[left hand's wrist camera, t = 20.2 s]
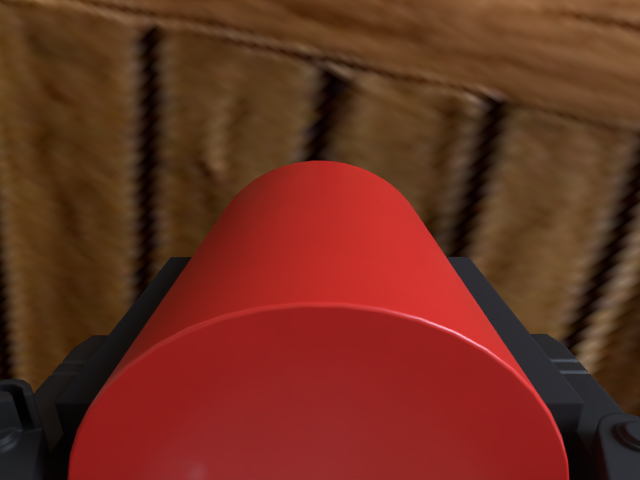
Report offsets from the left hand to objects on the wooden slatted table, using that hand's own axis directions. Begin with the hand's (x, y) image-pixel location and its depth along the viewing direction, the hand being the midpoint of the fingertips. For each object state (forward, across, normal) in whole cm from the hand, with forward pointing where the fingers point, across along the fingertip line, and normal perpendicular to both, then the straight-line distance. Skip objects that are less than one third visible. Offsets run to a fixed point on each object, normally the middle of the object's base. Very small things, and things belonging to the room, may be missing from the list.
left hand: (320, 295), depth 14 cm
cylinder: (+2, 0, 0) cm, 2 cm away
